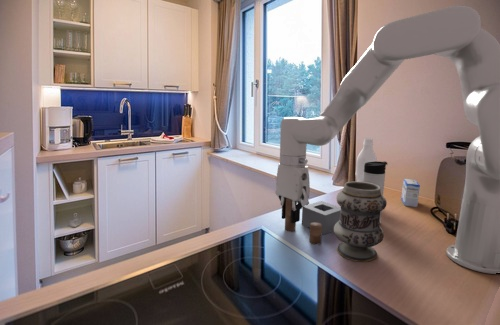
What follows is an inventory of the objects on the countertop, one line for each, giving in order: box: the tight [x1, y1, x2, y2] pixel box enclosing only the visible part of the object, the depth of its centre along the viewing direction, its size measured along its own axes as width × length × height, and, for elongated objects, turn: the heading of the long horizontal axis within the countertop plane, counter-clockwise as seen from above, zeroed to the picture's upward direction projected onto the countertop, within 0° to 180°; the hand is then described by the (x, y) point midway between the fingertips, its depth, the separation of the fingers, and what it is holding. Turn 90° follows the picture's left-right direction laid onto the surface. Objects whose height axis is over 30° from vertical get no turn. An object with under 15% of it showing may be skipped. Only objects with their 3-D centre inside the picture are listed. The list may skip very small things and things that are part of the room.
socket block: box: [301, 200, 341, 235], centre depth 93 cm, size 9×9×6 cm
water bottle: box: [354, 137, 378, 182], centre depth 112 cm, size 7×7×25 cm
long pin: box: [284, 198, 298, 232], centre depth 90 cm, size 3×3×10 cm
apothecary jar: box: [333, 181, 387, 263], centre depth 76 cm, size 12×12×18 cm
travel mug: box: [363, 160, 388, 221], centre depth 95 cm, size 6×7×20 cm
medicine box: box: [400, 178, 421, 208], centre depth 114 cm, size 8×4×9 cm, turn 162°
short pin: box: [308, 223, 322, 245], centre depth 83 cm, size 3×3×5 cm
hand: (290, 219), depth 90 cm, fingers closed on long pin, 3 cm apart
